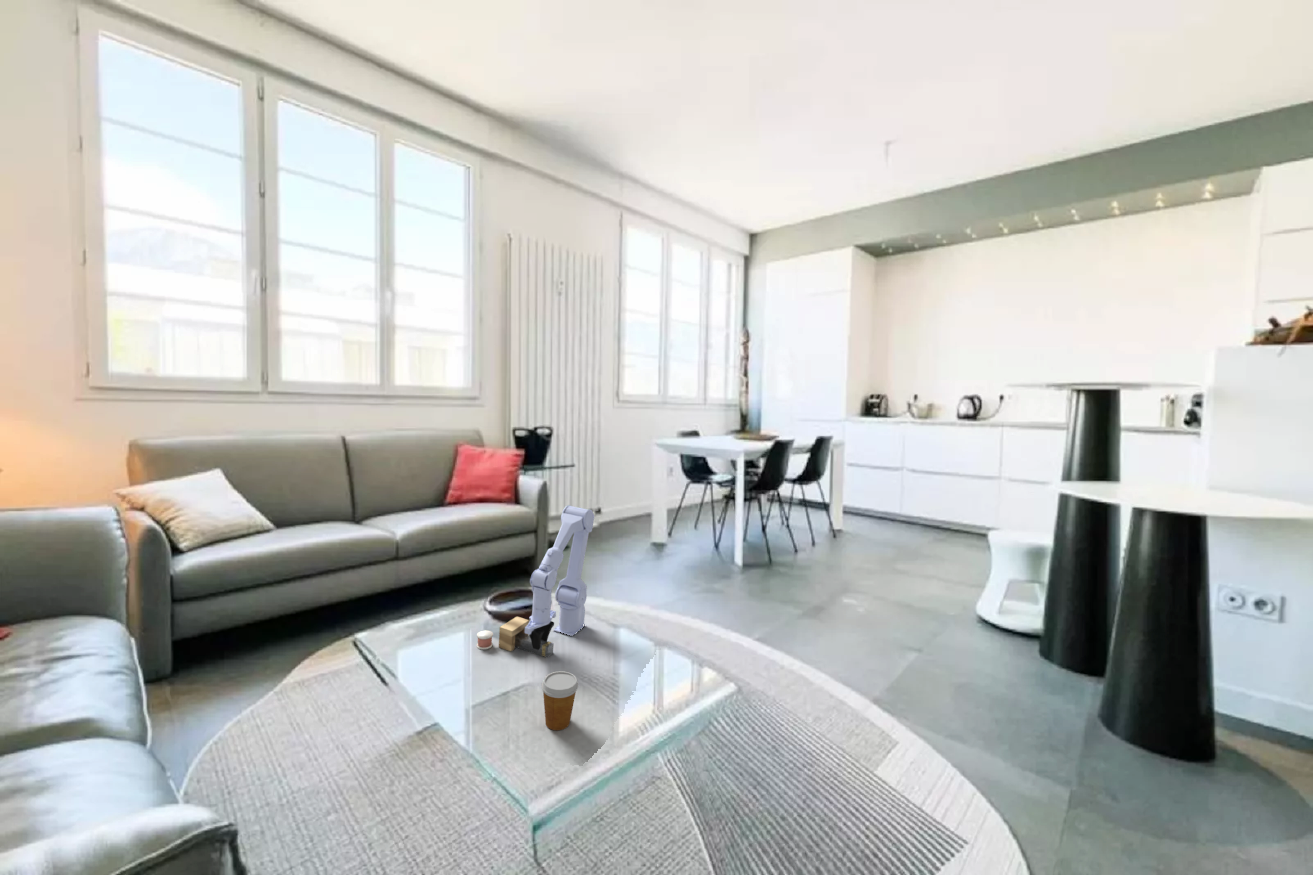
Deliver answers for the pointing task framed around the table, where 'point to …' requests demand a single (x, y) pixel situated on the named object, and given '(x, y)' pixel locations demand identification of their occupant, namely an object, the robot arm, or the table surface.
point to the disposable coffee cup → (559, 698)
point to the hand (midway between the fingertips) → (539, 646)
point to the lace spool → (484, 639)
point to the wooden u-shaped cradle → (511, 632)
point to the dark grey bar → (526, 644)
